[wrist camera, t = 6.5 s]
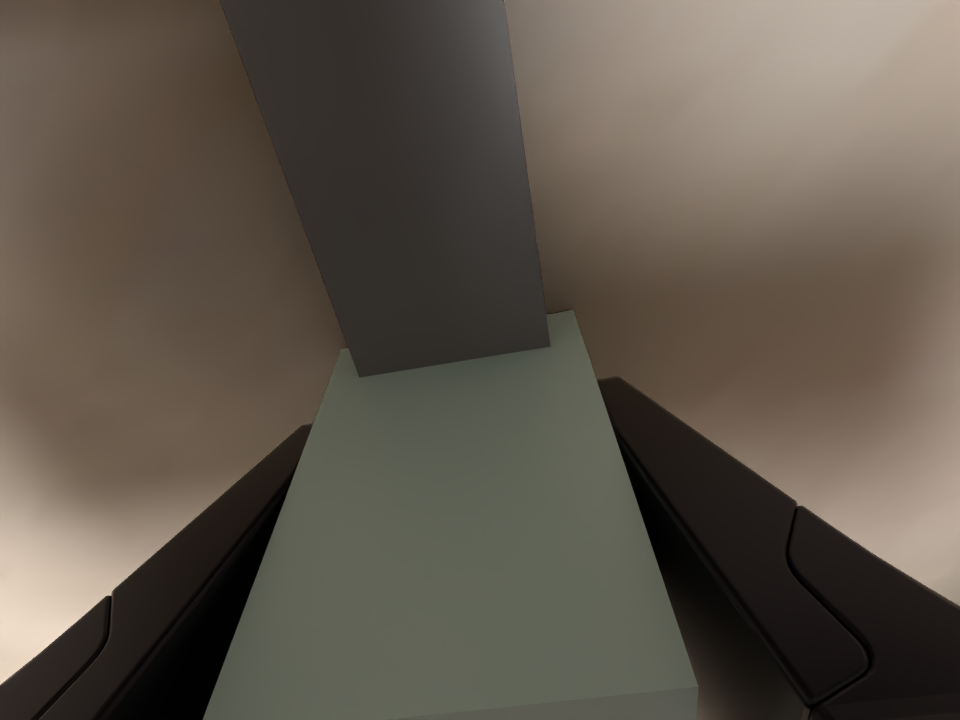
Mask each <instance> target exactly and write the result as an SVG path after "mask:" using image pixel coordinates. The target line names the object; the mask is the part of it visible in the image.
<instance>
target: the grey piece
mask: <svg viewBox="0 0 960 720" xmlns="http://www.w3.org/2000/svg"><path fill="white" fill-rule="evenodd" d="M220 2H221V5H222V8H223V11H224V13H225V16H226V19H227V21H228V24H229V27H230V29H231V32H232V35H233V38H234V40H235V43H236V46H237V48H238V51H239V54H240V57H241V59H242V62H243V65H244V67H245V70H246V73H247V75H248V78H249V81H250V84H251V86H252V89H253V92H254V94H255V97H256V100H257V102H258V105H259V108H260V111H261V113H262V116H263V119H264V121H265V124H266V127H267V129H268V132H269V135H270V138H271V140H272V143H273V146H274V148H275V151H276V154H277V157H278V159H279V162H280V165H281V167H282V170H283V173H284V175H285V178H286V181H287V184H288V186H289V189H290V192H291V194H292V197H293V200H294V202H295V205H296V208H297V211H298V213H299V216H300V219H301V221H302V224H303V227H304V229H305V232H306V235H307V238H308V240H309V243H310V246H311V248H312V251H313V254H314V257H315V259H316V262H317V265H318V267H319V270H320V273H321V275H322V278H323V281H324V284H325V286H326V289H327V292H328V294H329V297H330V300H331V302H332V305H333V308H334V311H335V313H336V316H337V319H338V321H339V324H340V327H341V330H342V332H343V335H344V338H345V340H346V343H347V346H348V348H344V349H341V351H340V353H339V356H338V359H337V361H336V364H335V367H334V369H333V372H332V375H331V377H330V380H329V383H328V386H327V388H326V391H325V394H324V396H323V399H322V402H321V404H320V407H319V410H318V412H317V415H316V418H315V420H314V423H313V426H312V428H311V431H310V434H309V436H308V439H307V442H306V444H305V447H304V450H303V452H302V455H301V458H300V460H299V463H298V466H297V468H296V471H295V474H294V477H293V479H292V482H291V485H290V487H289V490H288V493H287V495H286V498H285V501H284V503H283V506H282V509H281V511H280V514H279V517H278V519H277V522H276V525H275V527H274V530H273V533H272V535H271V538H270V541H269V543H268V546H267V549H266V551H265V554H264V557H263V559H262V562H261V565H260V567H259V570H258V573H257V576H256V578H255V581H254V584H253V586H252V589H251V592H250V594H249V597H248V600H247V602H246V605H245V608H244V610H243V613H242V616H241V618H240V621H239V624H238V626H237V629H236V632H235V634H234V637H233V640H232V642H231V645H230V648H229V650H228V653H227V656H226V658H225V661H224V664H223V666H222V669H221V672H220V675H219V677H218V680H217V683H216V685H215V688H214V691H213V693H212V696H211V699H210V701H209V704H208V707H207V709H206V712H205V715H204V717H203V720H696V717H697V701H698V684H697V681H696V678H695V675H694V672H693V669H692V666H691V663H690V660H689V657H688V654H687V651H686V648H685V645H684V642H683V639H682V636H681V633H680V630H679V627H678V624H677V621H676V618H675V615H674V612H673V609H672V606H671V603H670V600H669V597H668V594H667V591H666V588H665V585H664V582H663V579H662V576H661V573H660V570H659V567H658V564H657V561H656V558H655V554H654V551H653V548H652V545H651V542H650V539H649V536H648V533H647V530H646V527H645V524H644V521H643V518H642V515H641V512H640V509H639V506H638V503H637V500H636V497H635V494H634V491H633V488H632V485H631V482H630V479H629V476H628V473H627V470H626V467H625V464H624V461H623V458H622V455H621V452H620V449H619V446H618V443H617V440H616V437H615V434H614V431H613V428H612V425H611V422H610V419H609V416H608V413H607V410H606V407H605V404H604V401H603V398H602V395H601V392H600V389H599V386H598V383H597V380H596V377H595V374H594V371H593V368H592V365H591V362H590V359H589V356H588V353H587V350H586V347H585V344H584V341H583V338H582V335H581V332H580V329H579V326H578V323H577V320H576V316H575V313H574V310H571V311H565V312H559V313H553V314H547V315H546V308H545V301H544V294H543V286H542V279H541V271H540V264H539V257H538V249H537V242H536V234H535V227H534V219H533V212H532V205H531V197H530V190H529V182H528V175H527V168H526V160H525V153H524V145H523V138H522V130H521V123H520V116H519V108H518V101H517V93H516V86H515V79H514V71H513V64H512V56H511V49H510V41H509V34H508V27H507V19H506V12H505V4H504V0H220Z"/></svg>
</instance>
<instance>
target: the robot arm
mask: <svg viewBox="0 0 960 720" xmlns="http://www.w3.org/2000/svg"><path fill="white" fill-rule="evenodd" d="M597 383H598V386H599V389H600V392H601V395H602V398H603V401H604V404H605V407H606V410H607V413H608V416H609V419H610V422H611V425H612V428H613V431H614V434H615V437H616V440H617V443H618V446H619V449H620V452H621V455H622V458H623V461H624V464H625V467H626V470H627V473H628V476H629V479H630V482H631V485H632V488H633V491H634V494H635V497H636V500H637V503H638V506H639V509H640V512H641V515H642V518H643V521H644V524H645V527H646V530H647V533H648V536H649V539H650V542H651V545H652V548H653V551H654V554H655V558H656V561H657V564H658V567H659V570H660V573H661V576H662V579H663V582H664V585H665V588H666V591H667V594H668V597H669V600H670V603H671V606H672V609H673V612H674V615H675V618H676V621H677V624H678V627H679V630H680V633H681V636H682V639H683V642H684V645H685V648H686V651H687V654H688V657H689V660H690V663H691V666H692V669H693V672H694V675H695V678H696V681H697V684H698V701H697V717H696V720H960V606H959V605H957V604H955V603H953V602H952V601H950V600H948V599H947V598H945V597H943V596H942V595H940V594H938V593H936V592H935V591H933V590H931V589H930V588H928V587H926V586H925V585H923V584H922V583H920V582H918V581H917V580H915V579H913V578H912V577H910V576H908V575H907V574H905V573H904V572H902V571H900V570H899V569H897V568H895V567H894V566H892V565H891V564H889V563H887V562H886V561H884V560H882V559H881V558H879V557H877V556H876V555H874V554H873V553H871V552H870V551H868V550H867V549H865V548H864V547H862V546H861V545H859V544H858V543H856V542H855V541H853V540H852V539H850V538H849V537H847V536H846V535H844V534H843V533H841V532H840V531H838V530H837V529H835V528H834V527H832V526H831V525H829V524H828V523H827V522H825V521H824V520H822V519H821V518H819V517H818V516H817V515H815V514H814V513H812V512H811V511H810V510H808V509H807V508H805V507H804V506H798V507H797V502H796V501H795V500H794V499H792V498H791V497H789V496H788V495H786V494H785V493H784V492H782V491H781V490H779V489H778V488H776V487H775V486H774V485H772V484H771V483H769V482H768V481H767V480H765V479H764V478H762V477H761V476H759V475H758V474H757V473H755V472H754V471H752V470H751V469H750V468H748V467H747V466H745V465H744V464H742V463H741V462H740V461H738V460H737V459H735V458H734V457H732V456H731V455H730V454H728V453H727V452H725V451H724V450H723V449H721V448H720V447H718V446H717V445H715V444H714V443H713V442H711V441H710V440H708V439H707V438H706V437H704V436H703V435H701V434H700V433H698V432H697V431H696V430H694V429H693V428H691V427H690V426H688V425H687V424H686V423H684V422H683V421H681V420H680V419H679V418H677V417H676V416H674V415H673V414H671V413H670V412H669V411H667V410H666V409H664V408H663V407H662V406H660V405H659V404H657V403H656V402H654V401H653V400H652V399H650V398H649V397H647V396H646V395H644V394H643V393H642V392H640V391H639V390H637V389H636V388H635V387H633V386H632V385H630V384H629V383H627V382H626V381H625V380H623V379H622V378H620V377H612V378H605V379H599V380H597ZM312 426H313V424H306V425H303V426H301V427H299V428H298V429H297V430H296V431H295V432H294V433H293V434H291V435H290V436H289V437H288V438H287V439H286V440H285V441H283V442H282V443H281V444H280V445H279V446H278V447H277V448H275V449H274V450H273V451H272V452H271V453H270V454H269V455H267V456H266V457H265V458H264V459H263V460H262V461H261V462H259V463H258V464H257V465H256V466H255V467H254V468H253V469H251V470H250V471H249V472H248V473H247V474H246V475H244V476H243V477H242V478H241V479H240V480H239V481H238V482H236V483H235V484H234V485H233V486H232V487H231V488H230V489H228V490H227V491H226V492H225V493H224V494H223V495H222V496H220V497H219V498H218V499H217V500H216V501H215V502H214V503H212V504H211V505H210V506H209V507H208V508H207V509H206V510H204V511H203V512H202V513H201V514H200V515H199V516H198V517H196V518H195V519H194V520H193V521H192V522H191V523H189V524H188V525H187V526H186V527H185V528H184V529H183V530H181V531H180V532H179V533H178V534H177V535H176V536H175V537H173V538H172V539H171V540H170V541H169V542H168V543H167V544H165V545H164V546H163V547H162V548H161V549H160V550H159V551H157V552H156V553H155V554H154V555H153V556H152V557H151V558H149V559H148V560H147V561H146V562H145V563H144V564H143V565H141V566H140V567H139V568H138V569H137V570H136V571H135V572H133V573H132V574H131V575H130V576H129V577H128V578H126V579H125V580H124V581H123V582H122V583H121V584H120V585H118V586H117V587H116V588H115V589H114V590H113V591H112V596H106V597H104V598H103V599H102V600H101V601H100V602H99V603H98V604H97V605H95V606H94V607H93V608H92V609H91V610H90V611H89V612H88V613H86V614H85V615H84V616H83V617H82V618H81V619H79V620H78V621H77V622H76V623H75V624H74V625H72V626H71V627H70V628H69V629H68V630H67V631H65V632H64V633H63V634H62V635H61V636H59V637H58V638H57V639H56V640H55V641H54V642H52V643H51V644H50V645H49V646H48V647H46V648H45V649H44V650H43V651H42V652H41V653H39V654H38V655H37V656H36V657H35V658H33V659H32V660H31V661H30V662H28V663H27V664H26V665H25V666H23V667H22V668H21V669H20V670H18V671H17V672H16V673H15V674H13V675H12V676H11V677H10V678H8V679H7V680H6V681H5V682H3V683H2V684H1V685H0V720H203V717H204V715H205V712H206V709H207V707H208V704H209V701H210V699H211V696H212V693H213V691H214V688H215V685H216V683H217V680H218V677H219V675H220V672H221V669H222V666H223V664H224V661H225V658H226V656H227V653H228V650H229V648H230V645H231V642H232V640H233V637H234V634H235V632H236V629H237V626H238V624H239V621H240V618H241V616H242V613H243V610H244V608H245V605H246V602H247V600H248V597H249V594H250V592H251V589H252V586H253V584H254V581H255V578H256V576H257V573H258V570H259V567H260V565H261V562H262V559H263V557H264V554H265V551H266V549H267V546H268V543H269V541H270V538H271V535H272V533H273V530H274V527H275V525H276V522H277V519H278V517H279V514H280V511H281V509H282V506H283V503H284V501H285V498H286V495H287V493H288V490H289V487H290V485H291V482H292V479H293V477H294V474H295V471H296V468H297V466H298V463H299V460H300V458H301V455H302V452H303V450H304V447H305V444H306V442H307V439H308V436H309V434H310V431H311V428H312Z"/></svg>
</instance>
